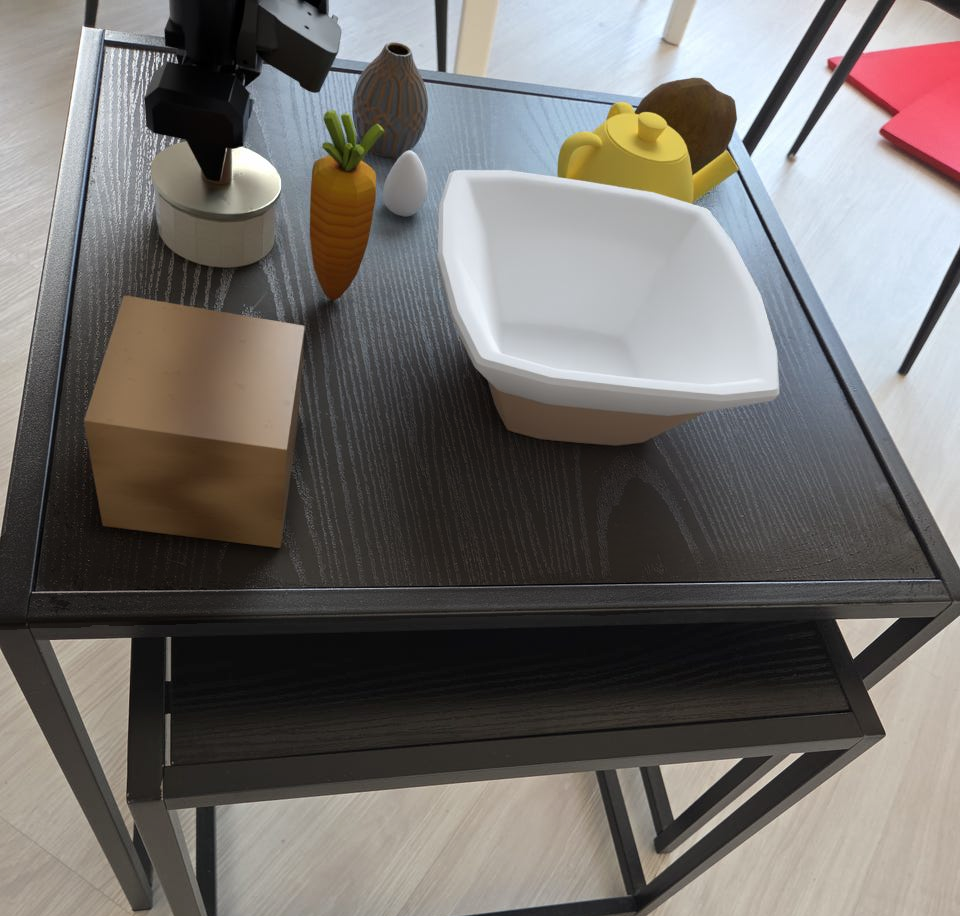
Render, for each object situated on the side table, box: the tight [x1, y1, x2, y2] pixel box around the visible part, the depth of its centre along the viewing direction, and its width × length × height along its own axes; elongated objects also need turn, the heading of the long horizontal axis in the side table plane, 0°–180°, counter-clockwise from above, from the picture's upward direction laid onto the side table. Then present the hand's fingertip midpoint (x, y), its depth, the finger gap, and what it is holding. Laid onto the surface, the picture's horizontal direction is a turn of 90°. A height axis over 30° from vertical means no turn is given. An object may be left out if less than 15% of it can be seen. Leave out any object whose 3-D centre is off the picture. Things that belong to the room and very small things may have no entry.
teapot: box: [556, 101, 739, 204], centre depth 85 cm, size 14×14×11 cm
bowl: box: [437, 169, 780, 447], centre depth 71 cm, size 24×25×11 cm
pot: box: [153, 186, 278, 269], centre depth 75 cm, size 9×9×4 cm
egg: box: [382, 150, 429, 217], centre depth 82 cm, size 4×4×6 cm
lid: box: [150, 140, 282, 219], centre depth 72 cm, size 10×10×4 cm
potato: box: [634, 77, 738, 175], centre depth 95 cm, size 8×12×9 cm
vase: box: [351, 41, 429, 159], centre depth 86 cm, size 7×7×9 cm
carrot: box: [309, 109, 384, 302], centre depth 69 cm, size 5×5×15 cm
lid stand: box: [83, 294, 306, 549], centre depth 59 cm, size 11×11×9 cm
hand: (216, 169), depth 73 cm, fingers closed on lid, 2 cm apart
